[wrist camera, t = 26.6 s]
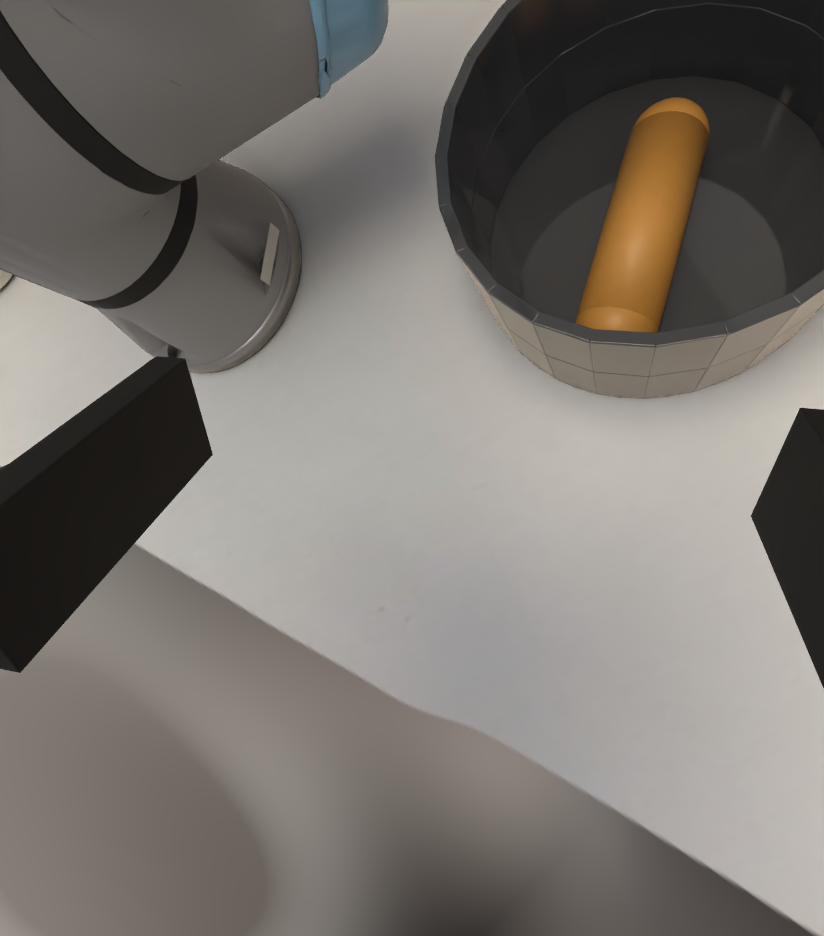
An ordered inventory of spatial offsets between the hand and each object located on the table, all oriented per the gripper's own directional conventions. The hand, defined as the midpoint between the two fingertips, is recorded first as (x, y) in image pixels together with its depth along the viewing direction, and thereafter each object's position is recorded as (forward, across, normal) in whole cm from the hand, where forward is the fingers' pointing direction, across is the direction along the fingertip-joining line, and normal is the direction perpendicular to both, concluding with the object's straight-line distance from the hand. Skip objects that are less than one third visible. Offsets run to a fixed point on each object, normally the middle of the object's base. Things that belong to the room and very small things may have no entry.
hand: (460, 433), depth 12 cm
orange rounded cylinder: (+23, +7, -2) cm, 24 cm away
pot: (+25, +7, -2) cm, 26 cm away
